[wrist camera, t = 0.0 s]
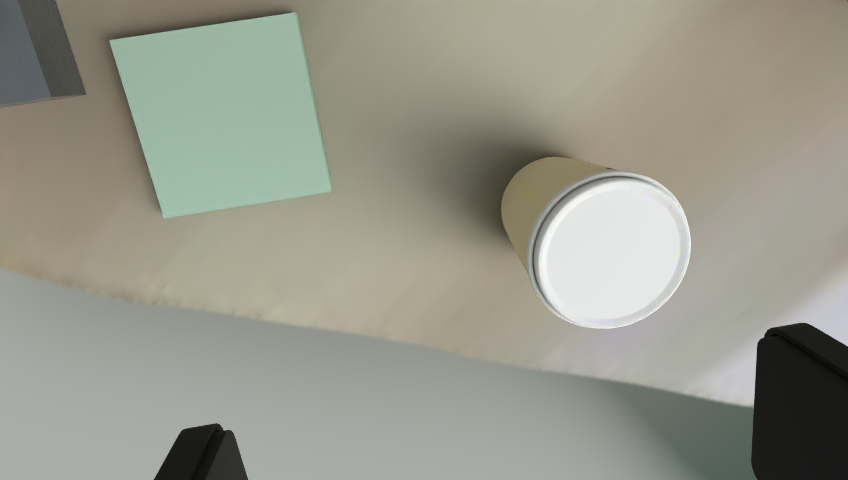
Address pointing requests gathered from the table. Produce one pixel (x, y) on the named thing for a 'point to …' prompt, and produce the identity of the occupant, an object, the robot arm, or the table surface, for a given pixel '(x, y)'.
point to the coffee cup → (596, 240)
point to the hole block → (35, 54)
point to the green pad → (225, 114)
